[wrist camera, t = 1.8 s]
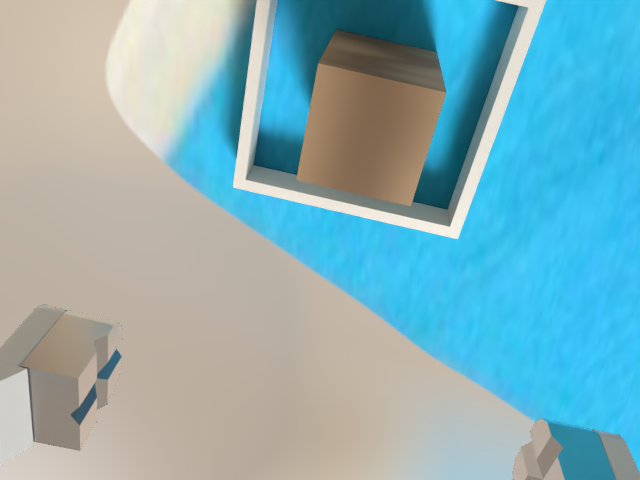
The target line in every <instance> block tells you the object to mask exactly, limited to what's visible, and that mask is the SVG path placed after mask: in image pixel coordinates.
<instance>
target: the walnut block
mask: <svg viewBox="0 0 640 480" xmlns="http://www.w3.org/2000/svg"><path fill="white" fill-rule="evenodd" d="M445 95H446V89H445V85H444V81H443V76H442V72H441V68H440V64H439V59H438V55H437V52H434V51H430V50H425V49H421V48H416V47H412V46H408V45H403V44H399V43H394V42H390V41H386V40H381V39H377V38H373V37H368V36H364V35H359V34H355V33H351V32H346V31H342V30H337V29H336V30H335V32H334V34H333V36H332V38H331V40H330V42H329V44H328V45H327V47H326V49H325V51H324V53H323V55H322V57H321V59H320V61H319V63H318V67H317V72H316V78H315V83H314V88H313V93H312V99H311V104H310V109H309V115H308V120H307V125H306V130H305V136H304V141H303V146H302V151H301V157H300V162H299V167H298V173H297V178H296V180H298V181H302V182H306V183H311V184H315V185H319V186H324V187H328V188H332V189H337V190H341V191H345V192H350V193H354V194H358V195H363V196H367V197H371V198H376V199H380V200H384V201H389V202H393V203H397V204H402V205H406V206H411V204H412V201H413V198H414V195H415V192H416V188H417V185H418V182H419V179H420V175H421V172H422V169H423V166H424V163H425V159H426V156H427V153H428V150H429V147H430V143H431V140H432V137H433V134H434V131H435V127H436V124H437V121H438V118H439V114H440V111H441V108H442V105H443V102H444V98H445Z"/></svg>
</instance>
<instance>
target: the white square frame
mask: <svg viewBox="0 0 640 480" xmlns="http://www.w3.org/2000/svg"><path fill="white" fill-rule="evenodd" d="M277 1H278V0H257V3H256V11H255V19H254V27H253V35H252V43H251V50H250V58H249V66H248V74H247V82H246V89H245V97H244V105H243V113H242V121H241V128H240V136H239V144H238V152H237V160H236V168H235V175H234V183H233V188H238V189H242V190H247V191H251V192H255V193H260V194H264V195H268V196H273V197H277V198H281V199H286V200H290V201H294V202H299V203H303V204H307V205H312V206H316V207H320V208H325V209H329V210H333V211H338V212H342V213H346V214H351V215H355V216H360V217H364V218H368V219H373V220H377V221H381V222H386V223H390V224H394V225H399V226H403V227H407V228H412V229H416V230H420V231H425V232H429V233H433V234H438V235H442V236H446V237H451V238H455V239H458V237H459V234H460V231H461V229H462V226H463V223H464V221H465V218H466V215H467V212H468V210H469V207H470V204H471V202H472V199H473V196H474V194H475V191H476V188H477V186H478V183H479V180H480V177H481V175H482V172H483V169H484V167H485V164H486V161H487V159H488V156H489V153H490V150H491V148H492V145H493V142H494V140H495V137H496V134H497V132H498V129H499V126H500V124H501V121H502V118H503V115H504V113H505V110H506V107H507V105H508V102H509V99H510V97H511V94H512V91H513V89H514V86H515V83H516V80H517V78H518V75H519V72H520V70H521V67H522V64H523V62H524V59H525V56H526V53H527V51H528V48H529V45H530V43H531V40H532V37H533V35H534V32H535V29H536V27H537V24H538V21H539V18H540V16H541V13H542V10H543V8H544V5H545V2H546V0H497V1H501V2H505V3H510V4H514V5H519V6H518V9H517V12H516V15H515V18H514V20H513V23H512V26H511V29H510V32H509V35H508V38H507V40H506V43H505V46H504V49H503V52H502V55H501V58H500V60H499V63H498V66H497V69H496V72H495V75H494V78H493V81H492V83H491V86H490V89H489V92H488V95H487V98H486V101H485V103H484V106H483V109H482V112H481V115H480V118H479V121H478V123H477V126H476V129H475V132H474V135H473V138H472V141H471V143H470V146H469V149H468V152H467V155H466V158H465V161H464V163H463V166H462V169H461V172H460V175H459V178H458V181H457V184H456V186H455V189H454V192H453V195H452V198H451V201H450V204H449V206H448V209H443V208H438V207H434V206H430V205H425V204H421V203H416V202H412V204H411V206H406V205H402V204H397V203H393V202H389V201H384V200H380V199H376V198H371V197H367V196H363V195H358V194H354V193H350V192H345V191H341V190H337V189H332V188H328V187H324V186H319V185H315V184H311V183H306V182H302V181H298V180H296V178H297V175H295V174H290V173H286V172H282V171H277V170H273V169H269V168H264V167H260V166H255V165H254V160H255V153H256V146H257V139H258V132H259V125H260V118H261V111H262V105H263V98H264V91H265V84H266V77H267V70H268V63H269V56H270V50H271V43H272V36H273V29H274V22H275V15H276V8H277Z"/></svg>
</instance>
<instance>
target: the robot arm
mask: <svg viewBox="0 0 640 480" xmlns="http://www.w3.org/2000/svg"><path fill="white" fill-rule="evenodd" d="M121 340H122V325H121V324H120V323H118V322H114V321H110V320H106V319H103V318H99V317H95V316H90V315H87V314H83V313H79V312H74V311H70V310H69V311H68V310H64V309H60V308H56V307H52V306H48V305H45V304H43V305H41V306H39V307H37V308H36V309H34V311H33V312H32V313H31V314H30V315H29V316H28V317H27V318H26V319H25V321H24V322H23V323H22V324H21V325H20V326H19V327H18V328H17V329H16V330H15V332H14V333H13V334H12V335H11V336H10V337H9V338H8V339H7V341H6V342H5V343H4V344H3V345H2V346H1V347H0V466H2V465H3V464H5V463H6V462H8V461H9V460H11V459H12V458H14V457H15V456H17V455H18V454H20V453H21V452H23V451H24V450H26V449H27V448H29V447H30V446H32V445H33V444H34V442H38V443H43V444H48V445H53V446H59V447H64V448H69V449H74V450H79V451H80V450H81V449H82V447H83V445H84V443H85V442H86V440H87V438H88V436H89V435H90V433H91V432H92V430H93V428H94V426H95V424H96V423H97V410H98V409H99V408H101V407H103V406H105V405H107V404H108V402H109V400H110V398H111V396H112V395H113V393H114V390H115V388H116V385H117V382H118V380H119V376H120V370H121V361H122V357H121V355H120V353H119V352H118V351H117V349H116V348H117V347H118V345H119V343H120V341H121ZM530 433H531V437H532V442H530V443H529V444H526V445H524V446H522V447H521V449H520V451H519V453H518V455H517V457H516V459H515V463H514V468H513V480H640V473H639V471H638V469H637V467H636V464H635V462H634V460H633V457H632V455H631V453H630V451H629V448H628V446H627V444H626V442H625V440H624V439H623V438H622V437H621V436H620V435H618V434H613V433H608V432H604V431H599V430H594V429H593V430H591V429H588V428H584V427H579V426H574V425H570V424H565V423H561V422H556V421H551V420H547V419H542V418H541V419H539V420H538V421H537V422H535V424H534V425H533V427H532V429H531V431H530Z"/></svg>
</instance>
